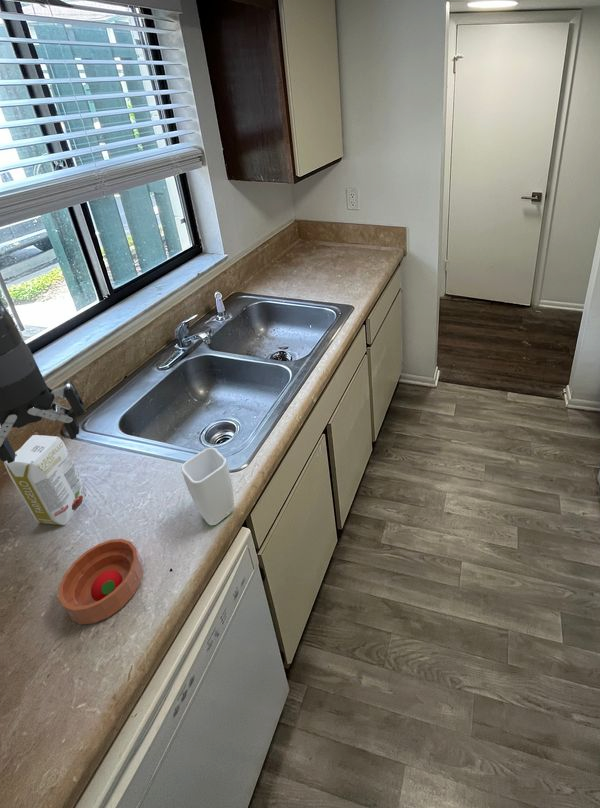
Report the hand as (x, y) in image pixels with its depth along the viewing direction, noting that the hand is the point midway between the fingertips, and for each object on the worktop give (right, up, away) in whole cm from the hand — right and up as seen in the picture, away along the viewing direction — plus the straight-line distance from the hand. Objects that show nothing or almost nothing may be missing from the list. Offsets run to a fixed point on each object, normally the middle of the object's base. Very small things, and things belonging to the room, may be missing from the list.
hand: (43, 447), depth 75 cm
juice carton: (-14, -23, +22) cm, 35 cm away
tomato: (+6, -29, +7) cm, 30 cm away
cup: (+21, -23, +21) cm, 38 cm away
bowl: (+6, -30, +8) cm, 31 cm away
